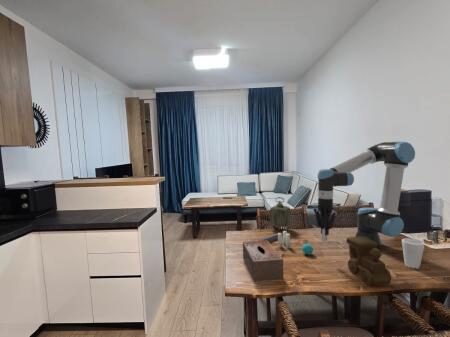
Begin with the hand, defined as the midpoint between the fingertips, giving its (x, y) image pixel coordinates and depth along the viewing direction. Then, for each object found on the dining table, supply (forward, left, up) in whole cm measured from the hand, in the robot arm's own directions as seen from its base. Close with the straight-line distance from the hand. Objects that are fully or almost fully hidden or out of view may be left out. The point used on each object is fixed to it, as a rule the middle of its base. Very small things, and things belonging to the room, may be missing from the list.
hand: (324, 240), depth 142 cm
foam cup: (-33, -27, -12) cm, 45 cm away
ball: (+11, 0, -8) cm, 14 cm away
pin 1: (+29, +2, -11) cm, 31 cm away
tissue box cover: (+17, +32, -12) cm, 38 cm away
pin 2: (+29, -3, -11) cm, 31 cm away
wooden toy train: (-23, +2, -12) cm, 26 cm away
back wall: (+40, 0, -11) cm, 41 cm away
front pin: (+25, 0, -11) cm, 27 cm away
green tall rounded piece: (+51, -24, -12) cm, 58 cm away
